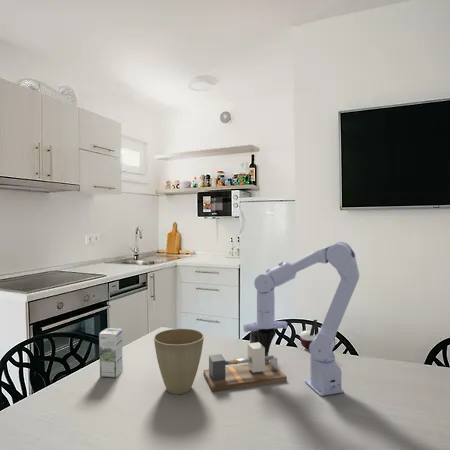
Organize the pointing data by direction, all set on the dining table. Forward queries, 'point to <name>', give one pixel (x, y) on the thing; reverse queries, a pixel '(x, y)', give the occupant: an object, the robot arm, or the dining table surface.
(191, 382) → the plant pot
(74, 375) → the dining table surface
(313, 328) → the cocoa
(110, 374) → the syrup box
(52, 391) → the dining table surface
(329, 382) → the robot arm
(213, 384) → the board
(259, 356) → the sleeve
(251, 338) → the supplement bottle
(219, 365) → the block
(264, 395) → the dining table surface
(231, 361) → the rail
